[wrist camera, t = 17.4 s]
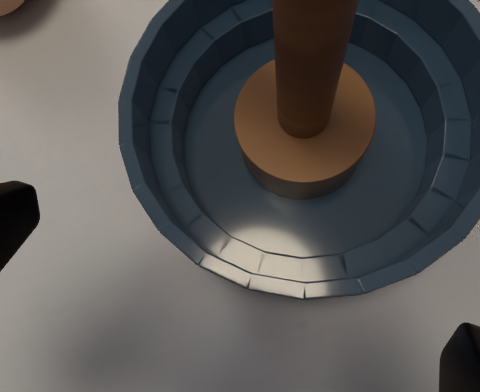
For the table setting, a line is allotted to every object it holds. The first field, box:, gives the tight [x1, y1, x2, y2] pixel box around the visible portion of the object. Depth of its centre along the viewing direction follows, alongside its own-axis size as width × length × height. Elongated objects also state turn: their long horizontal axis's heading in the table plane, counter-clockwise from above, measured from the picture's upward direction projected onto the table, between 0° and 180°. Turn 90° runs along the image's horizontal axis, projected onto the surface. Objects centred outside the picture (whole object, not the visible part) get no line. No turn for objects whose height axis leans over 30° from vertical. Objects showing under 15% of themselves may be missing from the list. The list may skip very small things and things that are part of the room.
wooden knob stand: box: [234, 0, 376, 199], centre depth 12 cm, size 6×6×15 cm
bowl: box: [118, 0, 480, 300], centre depth 18 cm, size 15×15×5 cm
